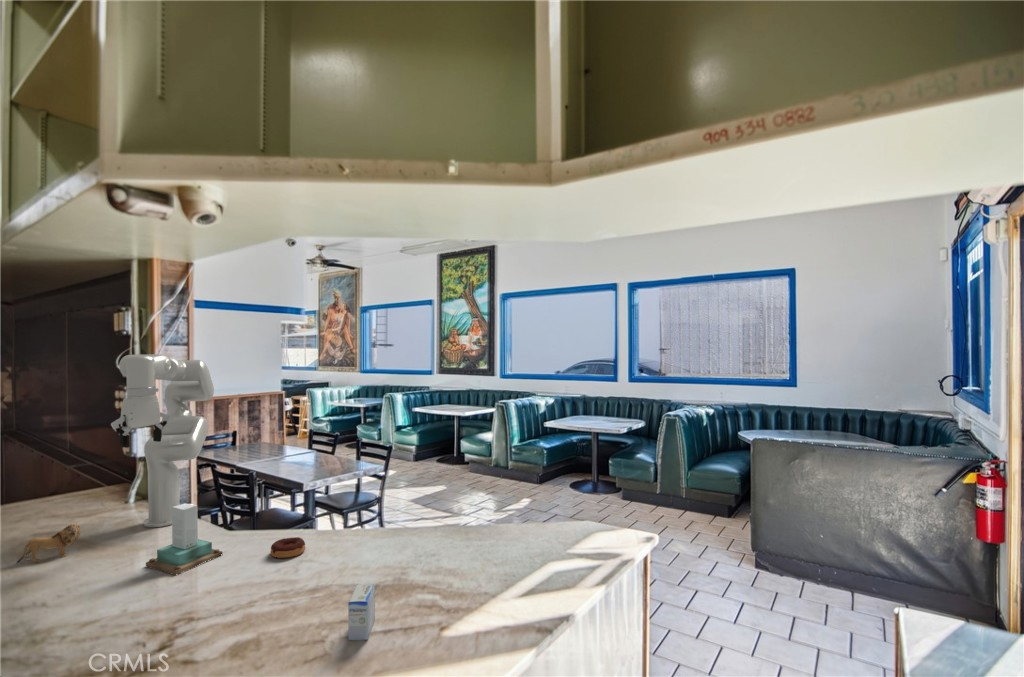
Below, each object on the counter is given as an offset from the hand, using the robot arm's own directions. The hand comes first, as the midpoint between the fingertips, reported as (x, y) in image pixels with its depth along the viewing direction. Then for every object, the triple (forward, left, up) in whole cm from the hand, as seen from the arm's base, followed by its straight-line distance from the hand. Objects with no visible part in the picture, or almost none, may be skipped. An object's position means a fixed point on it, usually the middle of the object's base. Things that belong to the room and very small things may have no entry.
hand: (141, 444), depth 165 cm
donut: (-12, +53, -33) cm, 63 cm away
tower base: (+4, +28, -32) cm, 43 cm away
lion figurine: (+18, -14, -33) cm, 40 cm away
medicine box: (+11, +102, -33) cm, 108 cm away
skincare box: (+4, +28, -28) cm, 40 cm away
